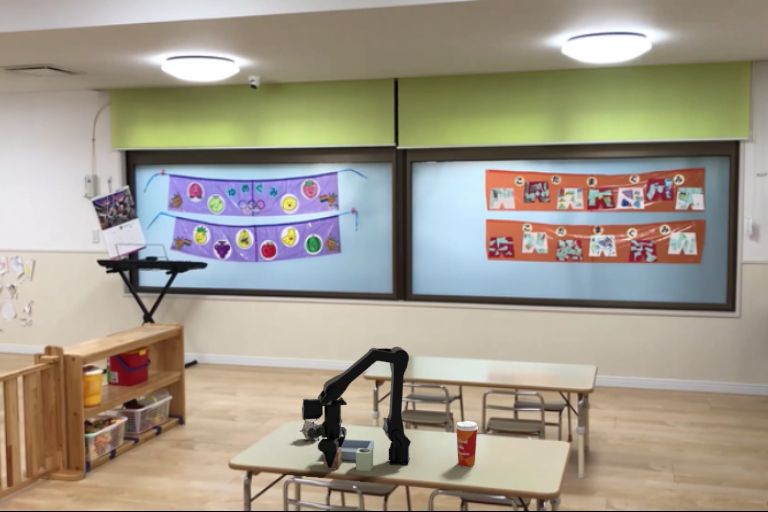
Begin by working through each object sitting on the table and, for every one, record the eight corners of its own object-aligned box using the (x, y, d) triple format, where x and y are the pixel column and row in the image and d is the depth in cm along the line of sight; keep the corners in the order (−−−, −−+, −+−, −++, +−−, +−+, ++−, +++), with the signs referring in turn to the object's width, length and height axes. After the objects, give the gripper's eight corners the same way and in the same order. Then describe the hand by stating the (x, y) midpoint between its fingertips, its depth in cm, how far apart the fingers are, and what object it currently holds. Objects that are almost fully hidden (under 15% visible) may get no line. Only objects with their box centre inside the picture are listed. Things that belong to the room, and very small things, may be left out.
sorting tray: (374, 448, 277) (374, 440, 277) (367, 461, 263) (367, 452, 263) (331, 446, 279) (331, 438, 279) (322, 458, 266) (322, 450, 265)
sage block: (373, 466, 259) (373, 448, 258) (370, 471, 254) (370, 452, 253) (358, 465, 259) (358, 447, 259) (355, 470, 254) (356, 452, 254)
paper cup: (451, 462, 263) (451, 422, 262) (470, 459, 266) (471, 419, 265) (462, 469, 256) (462, 428, 255) (482, 466, 259) (482, 425, 258)
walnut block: (341, 464, 260) (341, 446, 260) (338, 469, 255) (338, 451, 255) (327, 463, 261) (327, 446, 260) (323, 468, 256) (323, 450, 256)
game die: (315, 450, 286) (318, 434, 280) (294, 441, 288) (298, 425, 282) (324, 433, 293) (328, 417, 287) (305, 424, 295) (308, 408, 288)
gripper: (315, 409, 267) (315, 453, 268) (302, 424, 249) (302, 471, 250) (346, 411, 266) (346, 454, 267) (336, 426, 247) (336, 473, 248)
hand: (332, 463), depth 258 cm, fingers open, 9 cm apart
